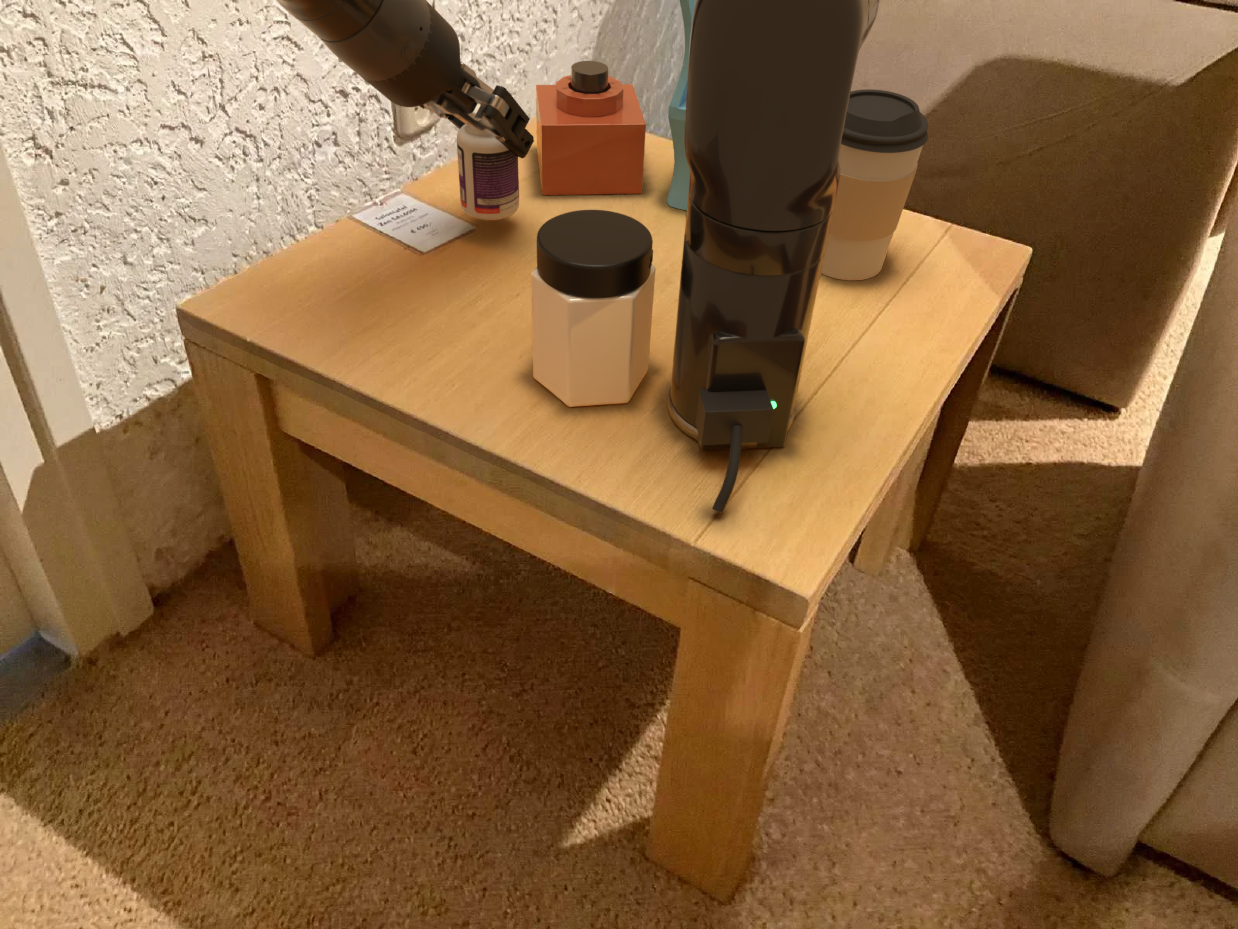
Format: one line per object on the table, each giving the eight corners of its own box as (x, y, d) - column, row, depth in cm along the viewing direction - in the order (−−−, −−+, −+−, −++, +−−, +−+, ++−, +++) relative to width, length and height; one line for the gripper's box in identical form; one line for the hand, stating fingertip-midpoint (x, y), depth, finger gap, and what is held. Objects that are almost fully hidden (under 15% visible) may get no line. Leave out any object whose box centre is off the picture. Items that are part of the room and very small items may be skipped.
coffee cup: (775, 256, 92) (801, 94, 82) (837, 227, 97) (869, 70, 87) (853, 298, 87) (890, 131, 77) (914, 265, 92) (957, 104, 82)
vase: (661, 204, 99) (677, -10, 85) (688, 172, 104) (707, -34, 91) (737, 222, 97) (765, 5, 83) (761, 188, 102) (790, -20, 89)
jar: (669, 384, 77) (681, 245, 69) (585, 424, 73) (588, 281, 65) (597, 330, 82) (601, 195, 74) (515, 365, 78) (509, 226, 70)
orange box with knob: (641, 193, 100) (647, 105, 94) (542, 195, 99) (541, 106, 93) (629, 150, 108) (633, 66, 102) (536, 151, 107) (535, 66, 101)
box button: (609, 96, 97) (610, 74, 95) (572, 96, 96) (572, 74, 95) (605, 82, 99) (606, 60, 98) (569, 82, 99) (569, 60, 97)
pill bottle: (530, 205, 94) (529, 103, 87) (495, 227, 90) (491, 122, 84) (485, 189, 96) (480, 87, 89) (448, 210, 92) (441, 106, 86)
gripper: (478, 9, 71) (582, 123, 87) (345, -35, 78) (464, 79, 93) (429, 103, 72) (541, 201, 87) (301, 52, 78) (426, 151, 93)
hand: (501, 137), depth 90 cm, fingers closed on pill bottle, 5 cm apart
